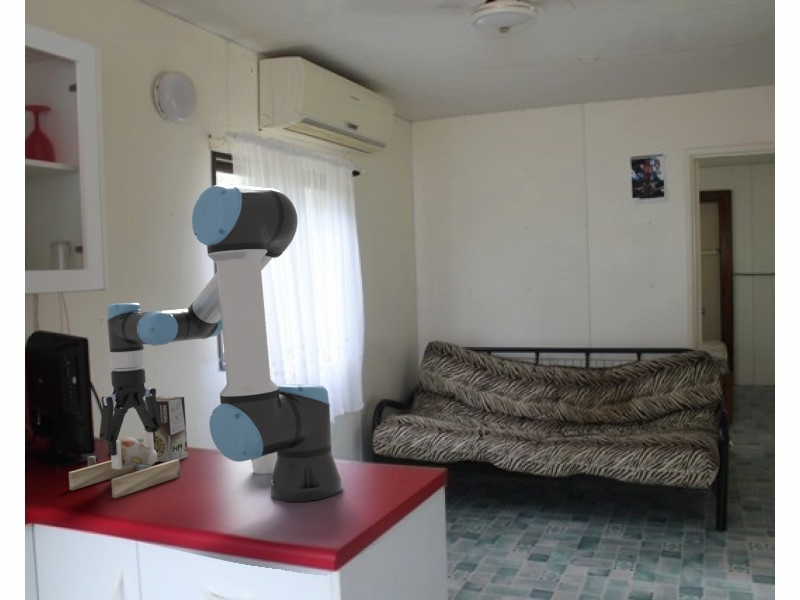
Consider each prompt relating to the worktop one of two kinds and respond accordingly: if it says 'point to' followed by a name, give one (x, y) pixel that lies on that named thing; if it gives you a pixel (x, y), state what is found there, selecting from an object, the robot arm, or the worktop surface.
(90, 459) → the crank handle
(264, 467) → the cup
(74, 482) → the bay
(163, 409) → the cookie box
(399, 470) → the worktop surface
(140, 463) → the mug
